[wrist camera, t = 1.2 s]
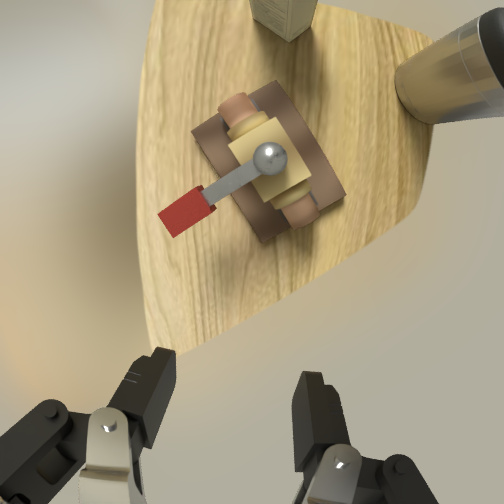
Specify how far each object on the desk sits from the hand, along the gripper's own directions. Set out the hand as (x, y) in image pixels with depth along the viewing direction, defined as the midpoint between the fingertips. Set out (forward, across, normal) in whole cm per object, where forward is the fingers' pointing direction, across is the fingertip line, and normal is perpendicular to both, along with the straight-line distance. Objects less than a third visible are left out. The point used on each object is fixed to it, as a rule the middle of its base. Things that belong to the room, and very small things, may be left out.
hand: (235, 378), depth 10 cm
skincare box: (+24, +1, -27) cm, 36 cm away
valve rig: (+23, 0, -8) cm, 25 cm away
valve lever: (+15, +3, -6) cm, 16 cm away
